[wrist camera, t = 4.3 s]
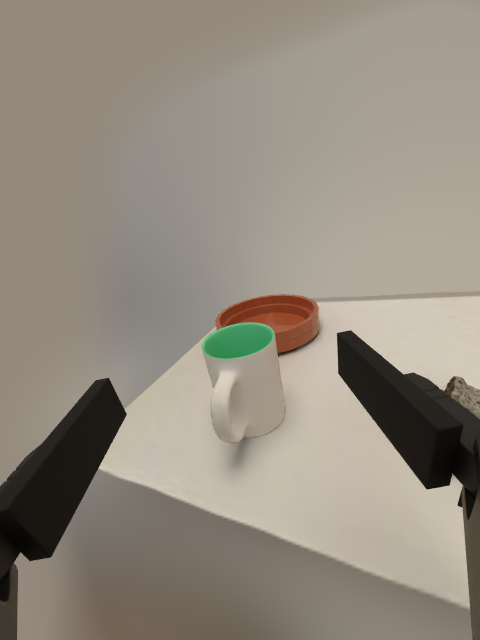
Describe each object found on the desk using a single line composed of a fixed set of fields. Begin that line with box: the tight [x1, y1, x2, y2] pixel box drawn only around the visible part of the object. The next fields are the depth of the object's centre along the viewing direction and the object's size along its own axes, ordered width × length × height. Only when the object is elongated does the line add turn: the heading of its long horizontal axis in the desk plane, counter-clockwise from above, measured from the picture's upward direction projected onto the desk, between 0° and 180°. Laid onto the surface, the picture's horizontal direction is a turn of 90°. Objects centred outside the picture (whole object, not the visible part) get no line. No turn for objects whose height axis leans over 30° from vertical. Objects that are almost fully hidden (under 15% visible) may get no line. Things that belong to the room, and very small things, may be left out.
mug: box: [202, 323, 285, 443], centre depth 26 cm, size 12×8×10 cm
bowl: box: [216, 294, 320, 353], centre depth 48 cm, size 21×21×4 cm
